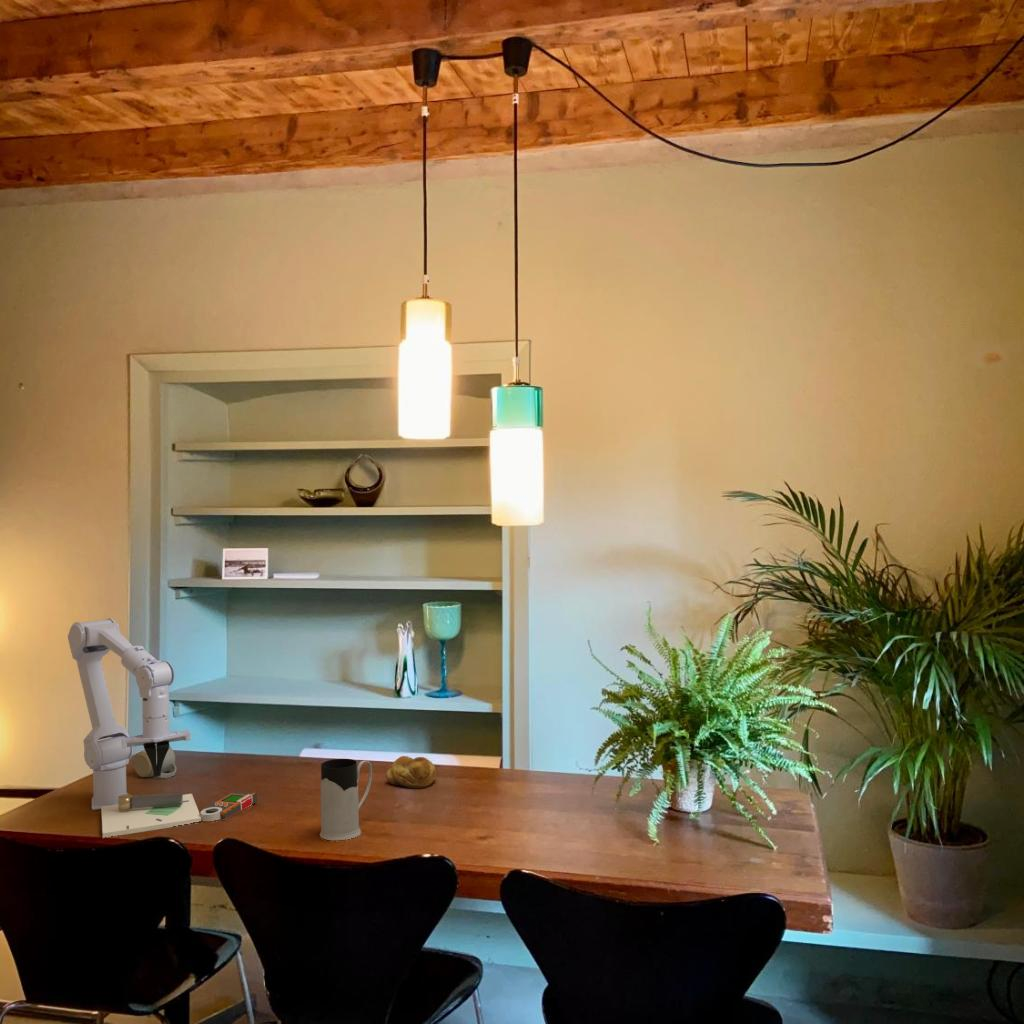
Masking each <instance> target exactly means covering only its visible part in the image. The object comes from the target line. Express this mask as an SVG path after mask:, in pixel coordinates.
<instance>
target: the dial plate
mask: <svg viewBox="0 0 1024 1024" xmlns="http://www.w3.org/2000/svg"><path fill="white" fill-rule="evenodd" d="M100 810H101V831H102V832H101V834H102V839H104V838H105V837H106V838H112V837H111V836H113V837H118V835H119V836H123V835H131V834H137V833H144V832H149V831H150V832H151V831H155V830H161V829H162V830H163V829H169V828H174V827H173V826H176V827H179V826H178V825H182V826H185V825H184V824H188V825H191V824H190V823H193V822H199V821H201V816H200V810H199V809H198V806H197V803H196V801H195V798H194V796H193V793H188V794H187V793H185V794H183V804H182V805H180V806H164V807H147V808H132V809H130V810H125V811H120V810H118V804H117V805H110V806H103V807H101V809H100Z"/></svg>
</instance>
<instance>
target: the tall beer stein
mask: <svg viewBox="0 0 1024 1024" xmlns="http://www.w3.org/2000/svg"><path fill="white" fill-rule="evenodd" d="M364 763H367V765H368V771H369V773H368V774H369V775H368V781H367V786H366V787H365V792H364V794H363V796H362V798H361V799H360V801H359V785H358V783H359V781H360V771H361V767H362V766H363V764H364ZM320 773H321V774H320V778H321V779H320V818H321V820H320V821H321V822H320V825H321V827H320V828H321V829H320V833H319V835H320V836H321V837H322V838H324V839H327V840H345V839H346V841H348V840H347V839H350V840H352V839H351V838H354V839H356V838H358V837H359V836H360V835H362V830H361V829H360V820H359V819H360V818H359V813H360V812H359V811H360V808H361V807H362V805H363V804H364V801H366V798H367V797H368V794H369V793H370V792H369V791H370V789H371V785H372V780H373V779H372V778H373V765H372V763H371V762H370V761H369V760H362V761H360V762H359V763H358V761H356V760H355V759H351V758H334V759H329V760H326V761H324V762H322V763H321V764H320ZM357 836H358V837H357ZM355 837H356V838H355Z"/></svg>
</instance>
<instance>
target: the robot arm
mask: <svg viewBox="0 0 1024 1024" xmlns="http://www.w3.org/2000/svg"><path fill="white" fill-rule="evenodd" d="M67 641H68V644H69V649H70V651H71V653H70V654H71V657H72V660H75V661H76V664H77V670H78V674H79V677H80V682H81V687H82V689H83V695H84V698H85V702H86V706H87V711H88V715H89V716H88V717H89V720H90V724H91V727H92V729H91V730H90V731H89V733H88V734H87V735H86V736H85V738H84V739H83V741H82V742H83V746H84V747H83V750H84V753H83V758H84V761H85V764H86V765H87V767H89V769H90V770H92V779H93V780H92V781H93V782H92V785H93V786H92V788H93V794H92V795H93V797H91V810H92V811H96V810H101V807H103V806H110V805H117V804H118V797H119V796H121V795H125V794H129V793H128V792H127V765H128V764H130V763H129V761H130V760H131V759H132V757H133V755H134V752H135V747H140V746H141V747H142V746H143V750H145V751H146V753H147V755H148V757H149V759H150V762H151V764H152V768H153V775H154V776H153V777H154V778H155V777H157V776H161V769H162V765H163V761H164V758H165V756H166V754H167V752H168V750H169V747H171V745H170V743H171V742H181V741H182V742H183V741H185V742H188V741H191V731H190V730H189V729H188V730H174V731H173V730H172V731H170V730H171V729H170V686H172V684H173V682H174V680H175V670H174V667H173V665H172V664H171V663H170V662H169V661H168V660H158V659H156V657H154V656H153V655H151V653H149V651H147V650H146V649H145V647H144V646H142V645H132V643H130V641H129V640H128V639H127V638H126V637H125V636H124V635H123V634H122V633H121V629H120V624H119V623H118V622H116V621H115V620H114V619H113V618H106V619H100V620H90V621H81V622H80V621H76V622H74V623H72V624H71V626H70V629H69V632H68V634H67ZM110 651H112V652H113V653H114V654H116V655H117V656H118V657H120V658H121V660H120V661H121V662H120V663H121V665H122V666H123V667H124V668H125V669H126V670H127V671H128V672H130V673H131V674H132V675H133V676H134V677H135V682H136V685H137V687H138V689H139V691H138V692H139V696H140V698H141V700H142V701H141V706H142V708H141V709H142V712H141V713H142V717H141V719H142V734H137V735H133V736H130V735H129V732H128V729H127V728H126V727H125V726H123V725H121V724H119V723H117V722H116V718H115V714H114V710H113V705H112V701H111V698H110V693H109V690H108V685H107V681H106V677H105V673H104V669H103V664H102V659H103V657H104V656H106V655H107V654H109V652H110ZM156 745H157V764H156Z"/></svg>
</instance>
